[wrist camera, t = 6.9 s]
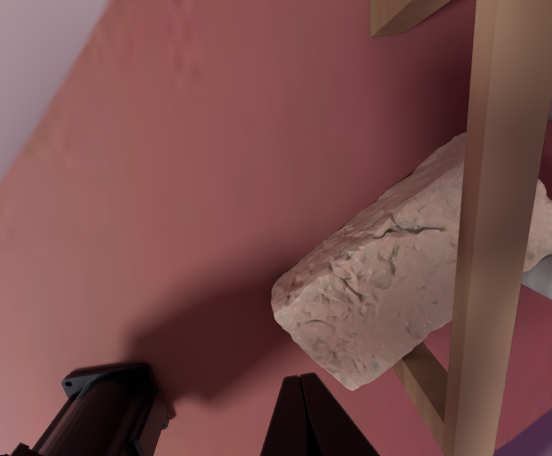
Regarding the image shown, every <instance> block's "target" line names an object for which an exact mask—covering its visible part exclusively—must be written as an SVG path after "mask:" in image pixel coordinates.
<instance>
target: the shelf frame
mask: <svg viewBox="0 0 552 456" xmlns="http://www.w3.org/2000/svg"><path fill="white" fill-rule="evenodd" d="M449 1H450V0H370V28H371V37H378V36H385V35H392V34H399V33H406V32H407V31H409V30H410V29H412V28H413V27H414V26H416V25H417V24H419V23H420V22H421V21H423V20H424V19H425V18H427V17H428V16H430V15H431V14H432V13H434V12H435V11H437V10H438V9H439V8H441V7H442V6H444V5H445V4H446V3H448V2H449ZM547 121H552V0H477V3H476V16H475V29H474V42H473V55H472V68H471V80H470V93H469V106H468V119H467V132H466V145H465V158H464V171H463V184H462V197H461V210H460V223H459V236H458V249H457V262H456V275H455V288H454V301H453V314H452V327H451V340H450V353H449V366H448V373H447V371H446V370H445V369H444V368H443V366H442V365H441V364H440V363H439V362H438V360H437V359H436V358H435V357H434V355H433V354H432V353H431V352H430V350H429V349H428V348H427V347H426V345H425V344H424V343H423V342H421V343H420V344H418V345H417V346H415V347H414V348H413V350H412V351H411V352H409V353H408V354H406V355H404V356H403V357H402V358H401V359H400V360H399V361H398V362H397V363H396V364H394V365H393V366H392V367H393V369H394V370H395V372H396V374H397V376H398V377H399V379H400V381H401V382H402V384H403V386H404V387H405V389H406V391H407V392H408V394H409V396H410V398H411V399H412V401H413V403H414V404H415V406H416V408H417V409H418V411H419V413H420V415H421V416H422V418H423V420H424V421H425V423H426V425H427V426H428V428H429V430H430V432H431V433H432V435H433V437H434V438H435V440H436V442H437V443H438V445H439V447H440V448H441V450H442V452H443V454H444V455H445V456H493V453H494V446H495V440H496V434H497V428H498V422H499V416H500V410H501V403H502V397H503V391H504V385H505V379H506V373H507V367H508V360H509V354H510V348H511V342H512V336H513V330H514V324H515V317H516V311H517V305H518V299H519V293H520V287H521V283H522V284H523V285H525V286H527V287H529V288H531V289H533V290H534V291H536V292H538V293H540V294H542V295H544V296H545V297H547V298H549V299H551V300H552V254H549V255H547V256H544V257H543V258H542V259H541V260H540V261H539V263H538V264H537V265H536V266H535V267H533V268H532V269H531V270H530V271H526V272H523V268H524V262H525V256H526V250H527V244H528V238H529V231H530V225H531V219H532V213H533V207H534V201H535V195H536V188H537V182H538V176H539V170H540V164H541V158H542V152H543V145H544V139H545V133H546V127H547Z"/></svg>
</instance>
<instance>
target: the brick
mask: <svg viewBox="0 0 552 456" xmlns="http://www.w3.org/2000/svg"><path fill="white" fill-rule="evenodd" d="M465 145H466V133H462V134H460V135H459V136H455V137H453V138H452V139H451V140H450V141H449V142H448V143H446V144H445V145H443V146H441V147H440V148H438V149H437V150H436V151H435V152H434V153H432V154H431V155H430V156H429V157H428V158H427V159H425V160H424V161H423V162H422V163H421V164H420V165H419V166H418V167H417V168H416V169H415V170H414V172H413V173H412V175H411V176H408V177H406V178H405V179H404V180H402V181H400V182H398V183H397V184H395V185H394V186H392V187H391V188H389V189H388V190H387V191H386V192H385V193H384V194H383V195H381V196H380V197H379V199H378V200H377V201H376V202H374V203H373V204H371V205H370V206H368V207H366V208H364V209H363V210H362V211H360V212H359V213H358V214H357V215H356V216H355V217H354V218H352V219H351V220H350V221H348V222H347V223H346V224H345V225H344V226H343V228H342V229H339V230H337V231H336V232H334V233H333V234H332V235H331V236H329V237H328V238H327V239H325V240H324V241H323V243H321V244H320V245H318V246H317V247H316V248H315V249H313V250H312V251H311V252H310V253H308V254H307V255H306V256H305V257H303V258H302V259H301V260H300V261H299V262H298V263H297V264H296V265H295V266H293V267H292V268H291V269H290V270H289V271H287V272H286V273H284V274H283V275H282V276H281V277H280V278H279V279H278V280H277V281H276V282H275V284H274V285H273V288H272V290H271V291H272V293H271V294H272V300H271V306H272V310H273V312H274V318H275V320H276V321H277V323H278V324H280V325H281V326H282V327H283V329H284V330H285V331H287V332H289V333H290V334H291V337H292V339H293V340H294V341H295V342H296V343H297V344H298V345H299V346H300V347H301V348H302V349H303V350H304V351H305V352H306V353H307V354H308V355H309V356H310V357H311V358H312V359H313V360H314V361H315V362H316V363H317V364H319V365H320V366H321V367H323V368H324V369H325V370H327V371H328V372H329V373H330V374H331V375H333V376H334V377H335V378H336V379H337V380H338V381H340V382H341V383H342V384H343V385H344V386H345V387H346V388H348V389H350V390H352V391H353V390H355V389H358V388H359V387H360V386H361V385H363V384H367V383H370V382H372V381H373V380H375V379H376V378H377V377H379V376H380V375H381V374H382V373H384V372H385V371H387V370H388V369H389V368H391V367H392V366H393V365H394V364H396V363H397V362H398V361H399V360H400V359H401V358H402V357H403V356H404V355H406V354H408V353H409V352H411V351H412V350H413V348H414V347H415V346H417V345H418V344H420V343H421V342H422V341H423V340H424V339H425V338H426V337H427V335H428V334H429V333H430V331H434V330H437V329H440V328H441V327H443V326H444V325H445V324H447V323H449V322H451V321H452V314H453V301H454V288H455V275H456V262H457V249H458V236H459V223H460V210H461V197H462V184H463V171H464V158H465ZM551 253H552V201H551V200H550V199H549V198H548V196H547V195H546V189H545V186H544V184H543V183H542V182H541V181H540V180H539V179H538V182H537V188H536V195H535V201H534V207H533V213H532V219H531V225H530V231H529V238H528V244H527V250H526V256H525V262H524V268H523V272H526V271H530V270H531V269H532V268H533V267H535V266H536V265H537V264H538V263H539V261H540V260H541V259H542V258H543V257H544V256H547V255H549V254H551Z"/></svg>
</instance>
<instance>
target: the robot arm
mask: <svg viewBox="0 0 552 456" xmlns="http://www.w3.org/2000/svg"><path fill="white" fill-rule="evenodd" d="M143 370H144V371H143ZM62 386H63V388H64V390H65V392H66V394H67V396H68V398H69V399H68V400H67V402H66V403H65V405H64V406H63V407H62V409H61V410H60V411H59V413H58V414H57V416H56V417H55V418H54V420H53V421H52V422H51V424H50V425H49V427H48V428H47V429H46V431H45V432H44V433H43V435H42V436H41V437H40V439H39V440H38V442H37V443H36V444H35V446H34V447H33V448H32V450H31V449H29V447H30V446H28V445H25V444H23V443H21V442H20V443H19V445H18V446H17V447H16V448H15V449H14V450H13V451H12V452H11V454H10V455H8V454H5V455H0V456H153V455H154V452H155V449H156V446H157V442H158V439H159V436H160V433H161V430H163V429H166V428H167V427H168V424H169V417H168V414H167V412H168V411H167V408H166V405H165V402H164V399H163V397H162V394H161V391H160V389H159V388H158V386H157V384H156V381H155V378H154V375H153V372H152V370H151V367H150V365H148V364H146V363H140V364H134V365H128V366H121V367H115V368H108V369H102V370H96V371H89V372H83V373H77V374H70V375H67V376H66V377H65V378H64V380H63V381H62ZM260 456H380V455H379V454H378V453H377V451H376V450H375V449H374V447H373V446H372V445H371V444H370V442H369V441H368V440H367V438H366V437H365V436H364V435H363V433H362V432H361V431H360V429H359V428H358V427H357V426H356V424H355V423H354V422H353V420H352V419H351V418H350V417H349V415H348V414H347V413H346V411H345V410H344V409H343V408H342V406H341V405H340V404H339V402H338V401H337V400H336V399H335V397H334V396H333V395H332V393H331V392H330V391H329V390H328V388H327V387H326V386H325V385H324V383H323V382H322V381H321V379H320V378H319V377H318V376H317V374H316V373H314V372H311V373H305V374H301V375H300V377H299V376H298V375H293V376H287V377H285V378H284V380H283V382H282V386H281V389H280V392H279V395H278V399H277V402H276V405H275V408H274V412H273V415H272V418H271V421H270V425H269V428H268V431H267V434H266V438H265V441H264V444H263V447H262V451H261V454H260Z"/></svg>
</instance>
